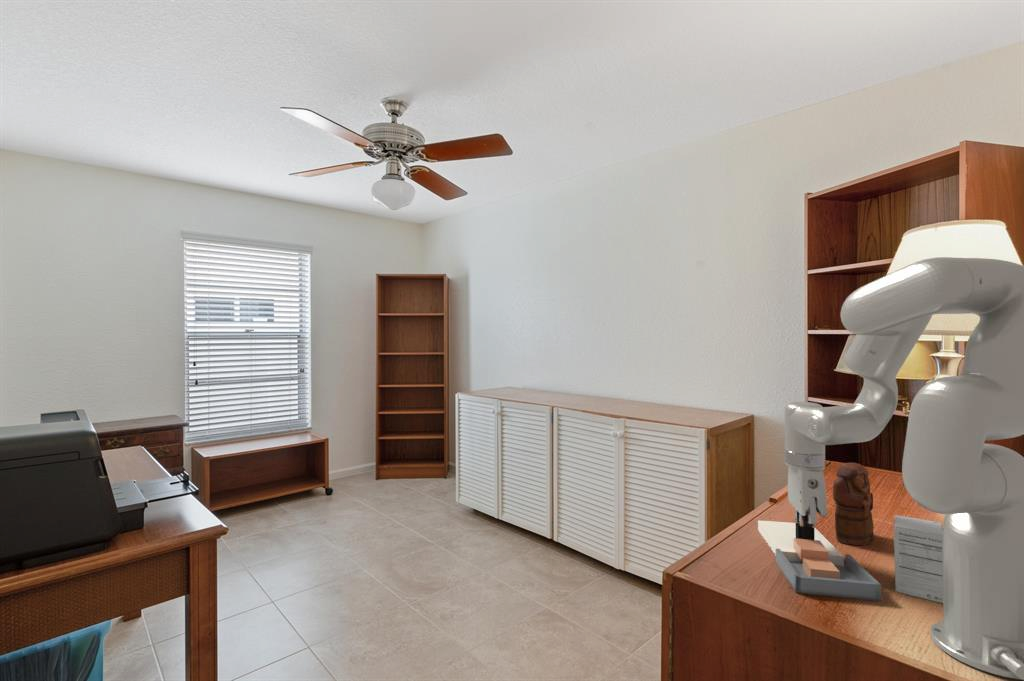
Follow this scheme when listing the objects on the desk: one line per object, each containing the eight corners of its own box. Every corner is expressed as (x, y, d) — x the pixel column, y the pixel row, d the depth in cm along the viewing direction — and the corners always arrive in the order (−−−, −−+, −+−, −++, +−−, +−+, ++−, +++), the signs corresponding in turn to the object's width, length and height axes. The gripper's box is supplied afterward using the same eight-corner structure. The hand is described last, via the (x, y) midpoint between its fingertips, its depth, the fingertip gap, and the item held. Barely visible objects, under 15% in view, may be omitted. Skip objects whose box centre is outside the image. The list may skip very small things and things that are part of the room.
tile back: (828, 562, 99) (828, 551, 98) (800, 559, 100) (800, 549, 100) (819, 550, 103) (819, 540, 103) (793, 548, 105) (793, 538, 105)
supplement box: (894, 576, 97) (894, 513, 97) (944, 588, 92) (943, 522, 92) (894, 591, 91) (893, 525, 91) (946, 605, 86) (946, 534, 86)
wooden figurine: (863, 550, 109) (862, 470, 109) (830, 541, 114) (830, 465, 114) (878, 536, 117) (877, 461, 117) (847, 528, 122) (846, 456, 121)
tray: (881, 601, 88) (881, 584, 88) (796, 592, 91) (795, 577, 91) (849, 568, 100) (849, 554, 100) (775, 562, 104) (775, 548, 103)
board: (843, 567, 101) (843, 556, 101) (780, 562, 104) (780, 551, 104) (811, 533, 118) (811, 524, 118) (758, 529, 121) (757, 520, 121)
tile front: (839, 582, 94) (839, 571, 94) (810, 579, 95) (810, 568, 95) (830, 570, 98) (830, 560, 98) (802, 568, 100) (802, 557, 100)
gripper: (838, 469, 97) (838, 560, 97) (811, 452, 112) (811, 530, 112) (797, 467, 99) (797, 556, 99) (775, 450, 113) (775, 528, 114)
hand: (804, 542), depth 106 cm, fingers closed
